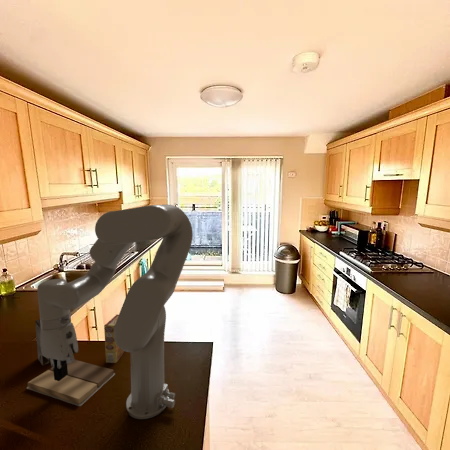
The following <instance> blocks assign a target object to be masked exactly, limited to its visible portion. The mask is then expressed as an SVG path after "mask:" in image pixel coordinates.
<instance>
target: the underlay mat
mask: <svg viewBox="0 0 450 450" xmlns="http://www.w3.org/2000/svg"><path fill="white" fill-rule="evenodd" d="M115 375H116V373H115V372H114V374H113V375H112V376H111V377H110V378H109V379H108V380H107V381H106V382H104V383H103V384H102V385H101V386H100V387H99V388H98V387H97V390H95V391H94V392H93V393H92V394H91V395H89V396H88V397H87V398H86V399H85V400H84V401H82V402H81V403H80V404H77V403H74V402H71V401H68V400H65V399H62V398H59V397H56V396H53V395H50V394H47V393H44V392H41V391H38V390H35V389H32V388H29V387H28V386H27V387H26V389H27V390H29V391H33V392H36V393H39V394H42V395H45V396H48V397H52V398H54V399H57V400H60V401H63V402H66V403H68V404H72V405H75V406H77V407H82V406H83V404H85V403H86V402H87V401H88V400H89V399H90V398H91V397H92V396H93V395H94V394H96V392H97V391H99V390H100V389H101V388H102V387H104V385H105V384H106V383H107V382H109V380H111V379H112V378H113V377H114V376H115Z"/></svg>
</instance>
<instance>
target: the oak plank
mask: <svg viewBox="0 0 450 450" xmlns="http://www.w3.org/2000/svg"><path fill="white" fill-rule="evenodd" d="M27 387H29V388H32V389H35V390H38V391H41V392H44V393H47V394H50V395H53V396H56V397H59V398H62V399H65V400H68V401H71V402H74V403H77V404H80V403H81V402H82V401H84V400H85V399H86V398H87V397H88V396H89V395H91V394H92V393H93V392H94V391H95V390H97V384H94V383H91V382H88V381H84V380H81V379H77V378H74V377H71V376H65V377H64V378H63V379H61V380H60V381H57V380H54V372H53V371H50V369H47V370H46V371H44V372H43V373H41V374H39V375H38V376H36V377H34V378H32V379H31V380H30V381H28V382H27Z"/></svg>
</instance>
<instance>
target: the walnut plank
mask: <svg viewBox="0 0 450 450" xmlns="http://www.w3.org/2000/svg"><path fill="white" fill-rule="evenodd" d="M67 369H68V375H67V376H71V377H74V378H77V379H81V380H84V381H88V382H91V383H94V384H97V387H98V388H99V387H100V386H101V385H102V384H103V383H104V382H106V381H107V380H108V379H109V378H110V377H111V376H112V375H113V374H114V373H115V372H114V371H115V370H114V369H112V368H107V367H104V366H100V365H96V364H92V363H88V362H85V361H81V360H78V359H75V360H74V361H73V362H71V363H67ZM49 370H50V371H53V367H52V366H51V368H49ZM53 372H54V371H53ZM109 380H110V379H109ZM109 380H108V381H109ZM108 381H107V382H108ZM107 382H106V383H107Z"/></svg>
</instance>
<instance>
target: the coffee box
mask: <svg viewBox="0 0 450 450" xmlns="http://www.w3.org/2000/svg"><path fill="white" fill-rule="evenodd" d="M34 321H35V322H34V323H35V333H36V336H35V337H36V348H37V360H38V361H39V362H40V364H41V365H42V366H46V365H48V364H49V363H50V364H51V361H50V360H49V359H47V358H46V357H44V356H43V355H42V353H41V345H40V333H41V324H40V318H39V319H36V320H34Z"/></svg>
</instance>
